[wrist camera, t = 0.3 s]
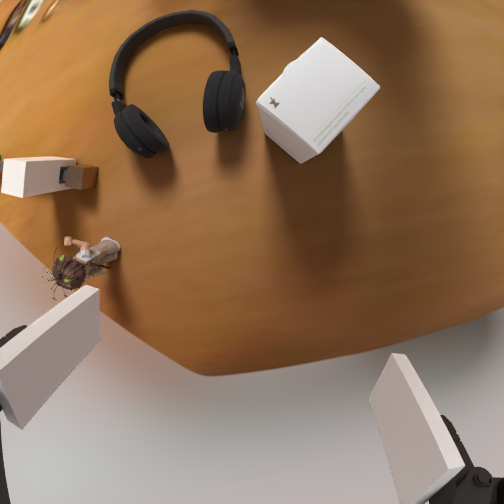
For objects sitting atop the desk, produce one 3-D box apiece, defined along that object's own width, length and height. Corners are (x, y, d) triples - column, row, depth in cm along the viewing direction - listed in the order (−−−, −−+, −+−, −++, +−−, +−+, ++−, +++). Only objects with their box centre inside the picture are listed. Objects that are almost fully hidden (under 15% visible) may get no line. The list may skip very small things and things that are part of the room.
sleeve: (50, 184, 38) (1, 192, 28) (53, 156, 37) (4, 159, 26) (72, 188, 38) (22, 197, 28) (76, 159, 37) (26, 161, 26)
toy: (99, 221, 40) (32, 248, 25) (129, 237, 40) (67, 271, 26) (90, 258, 42) (27, 295, 27) (118, 274, 42) (60, 318, 27)
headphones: (108, 162, 30) (97, 34, 28) (138, 170, 37) (121, 55, 35) (255, 110, 27) (215, -15, 26) (261, 130, 35) (226, 15, 33)
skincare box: (300, 165, 36) (317, 162, 21) (259, 130, 35) (248, 103, 20) (343, 118, 34) (386, 88, 19) (303, 84, 33) (320, 33, 18)
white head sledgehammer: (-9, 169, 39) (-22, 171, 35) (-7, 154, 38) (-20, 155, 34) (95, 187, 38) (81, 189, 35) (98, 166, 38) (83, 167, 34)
